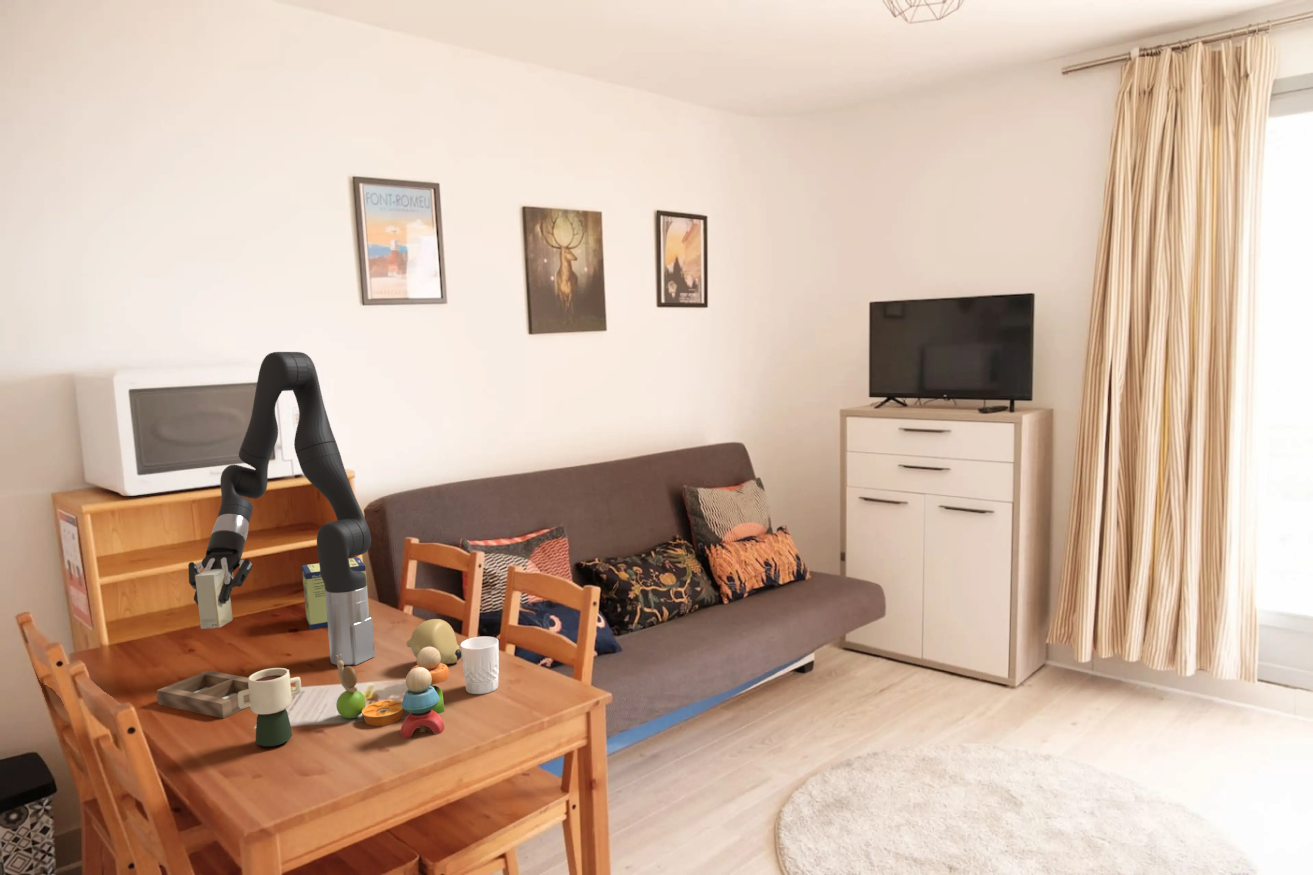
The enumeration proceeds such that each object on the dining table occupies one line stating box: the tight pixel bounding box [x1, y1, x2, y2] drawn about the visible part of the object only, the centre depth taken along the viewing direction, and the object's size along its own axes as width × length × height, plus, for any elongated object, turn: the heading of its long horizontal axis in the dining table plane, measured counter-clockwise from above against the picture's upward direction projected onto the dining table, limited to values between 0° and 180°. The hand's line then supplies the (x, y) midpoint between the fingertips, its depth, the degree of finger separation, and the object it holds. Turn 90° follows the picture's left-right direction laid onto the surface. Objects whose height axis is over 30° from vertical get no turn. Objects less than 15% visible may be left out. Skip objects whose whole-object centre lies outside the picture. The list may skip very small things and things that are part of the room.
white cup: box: [459, 636, 500, 695], centre depth 180 cm, size 8×8×10 cm
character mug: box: [238, 667, 302, 747], centre depth 157 cm, size 11×7×13 cm, turn 128°
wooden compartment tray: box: [156, 670, 250, 719], centre depth 179 cm, size 20×12×3 cm, turn 65°
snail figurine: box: [335, 654, 367, 719], centre depth 168 cm, size 5×6×12 cm
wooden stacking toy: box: [361, 647, 451, 740], centre depth 165 cm, size 18×17×12 cm
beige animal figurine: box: [406, 618, 462, 665], centre depth 196 cm, size 10×12×11 cm
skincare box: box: [195, 569, 233, 630], centre depth 191 cm, size 6×4×12 cm
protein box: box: [301, 557, 370, 631], centre depth 232 cm, size 10×16×16 cm
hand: (210, 602), depth 189 cm, fingers closed on skincare box, 4 cm apart
